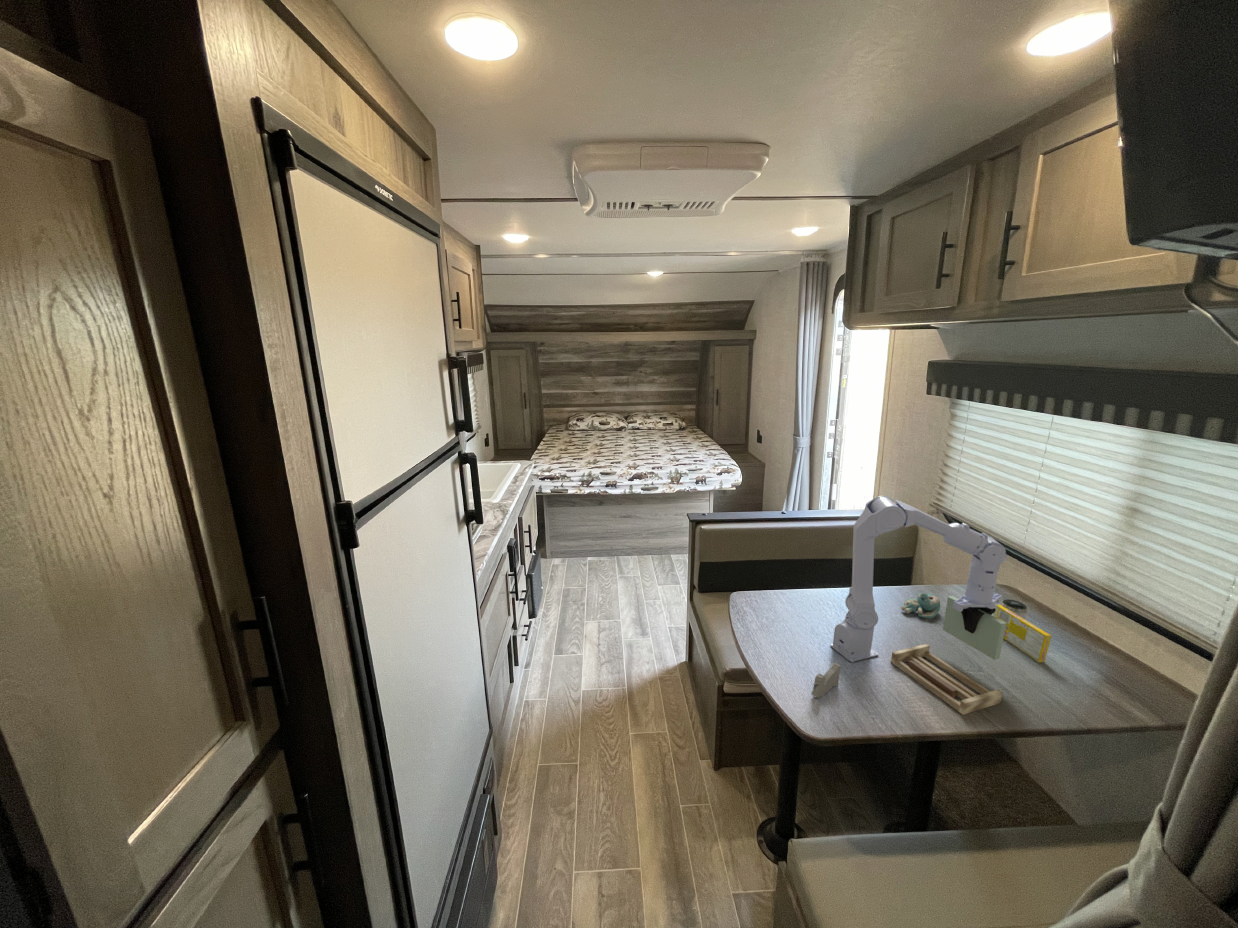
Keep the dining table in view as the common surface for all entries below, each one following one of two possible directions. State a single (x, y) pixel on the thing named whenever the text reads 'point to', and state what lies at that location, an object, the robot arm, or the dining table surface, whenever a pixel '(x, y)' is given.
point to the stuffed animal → (922, 605)
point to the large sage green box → (986, 632)
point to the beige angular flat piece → (826, 681)
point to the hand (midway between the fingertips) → (972, 630)
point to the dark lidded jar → (1015, 607)
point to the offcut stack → (933, 679)
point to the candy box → (1024, 634)
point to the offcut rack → (946, 680)
